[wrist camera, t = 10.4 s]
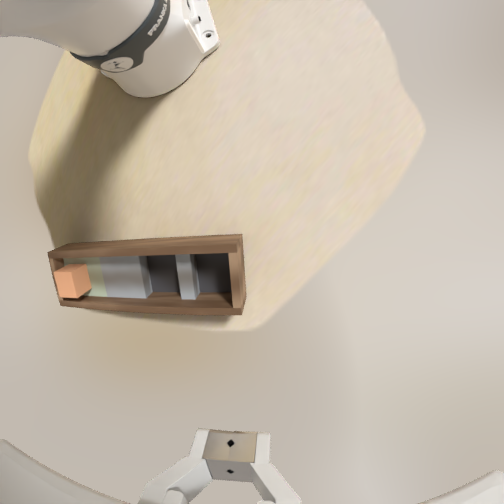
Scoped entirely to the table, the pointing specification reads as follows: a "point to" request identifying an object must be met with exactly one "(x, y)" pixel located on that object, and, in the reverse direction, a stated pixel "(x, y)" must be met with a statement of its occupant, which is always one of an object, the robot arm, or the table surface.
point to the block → (72, 280)
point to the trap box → (159, 274)
